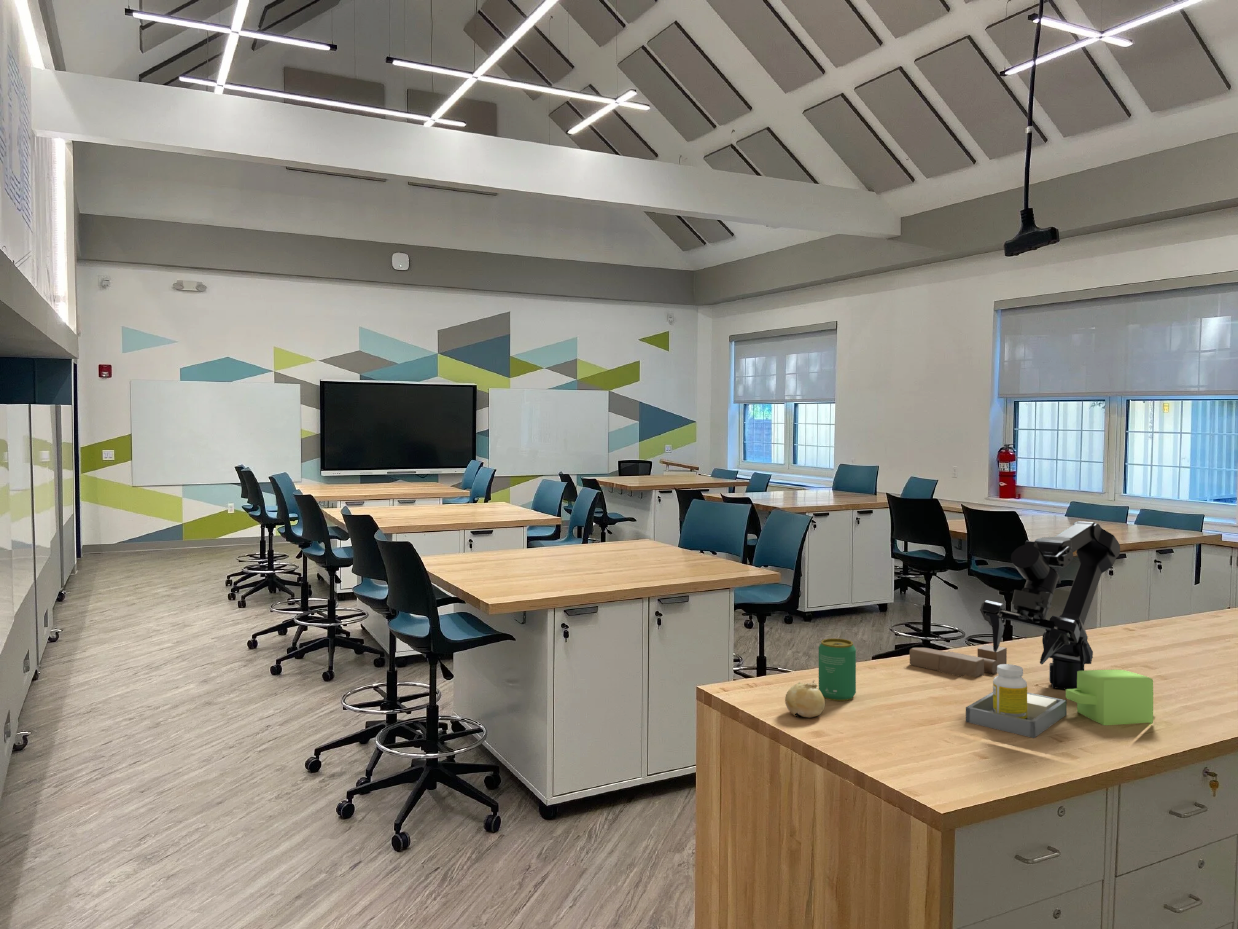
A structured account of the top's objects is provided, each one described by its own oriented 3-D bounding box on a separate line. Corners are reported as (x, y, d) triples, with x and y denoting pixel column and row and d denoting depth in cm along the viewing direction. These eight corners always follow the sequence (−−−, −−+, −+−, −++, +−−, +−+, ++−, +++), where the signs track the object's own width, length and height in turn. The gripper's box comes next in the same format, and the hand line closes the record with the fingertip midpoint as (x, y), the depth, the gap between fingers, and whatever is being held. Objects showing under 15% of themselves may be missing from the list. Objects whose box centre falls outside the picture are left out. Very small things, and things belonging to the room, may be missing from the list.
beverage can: (862, 695, 190) (862, 641, 189) (844, 704, 184) (844, 648, 183) (830, 688, 195) (829, 636, 195) (811, 696, 189) (811, 642, 189)
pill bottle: (1034, 725, 168) (1034, 669, 168) (1010, 729, 166) (1010, 672, 165) (1009, 715, 174) (1009, 661, 173) (985, 719, 172) (986, 664, 171)
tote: (1001, 703, 183) (1001, 687, 183) (1066, 717, 174) (1066, 700, 174) (965, 724, 170) (965, 707, 170) (1034, 741, 161) (1034, 722, 161)
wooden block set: (979, 658, 199) (908, 644, 213) (979, 682, 200) (908, 667, 213) (1011, 645, 211) (941, 632, 224) (1011, 667, 211) (941, 654, 224)
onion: (802, 724, 172) (801, 689, 172) (777, 712, 179) (777, 679, 179) (832, 717, 176) (832, 683, 176) (807, 706, 183) (807, 673, 183)
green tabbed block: (1137, 710, 179) (1137, 665, 179) (1174, 724, 170) (1173, 676, 170) (1058, 713, 177) (1058, 667, 177) (1090, 728, 167) (1090, 679, 167)
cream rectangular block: (1006, 703, 181) (1006, 689, 181) (1056, 714, 174) (1056, 699, 174) (994, 710, 177) (994, 696, 177) (1046, 721, 170) (1046, 706, 170)
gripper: (986, 564, 184) (963, 629, 179) (1081, 584, 172) (1060, 654, 167) (996, 588, 192) (975, 651, 186) (1088, 608, 179) (1068, 676, 174)
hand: (1017, 657), depth 178 cm, fingers open, 9 cm apart
